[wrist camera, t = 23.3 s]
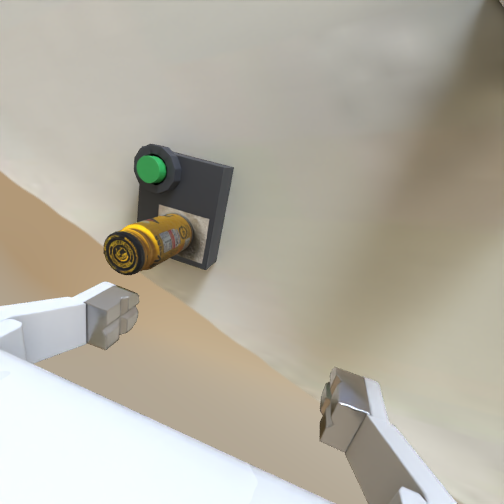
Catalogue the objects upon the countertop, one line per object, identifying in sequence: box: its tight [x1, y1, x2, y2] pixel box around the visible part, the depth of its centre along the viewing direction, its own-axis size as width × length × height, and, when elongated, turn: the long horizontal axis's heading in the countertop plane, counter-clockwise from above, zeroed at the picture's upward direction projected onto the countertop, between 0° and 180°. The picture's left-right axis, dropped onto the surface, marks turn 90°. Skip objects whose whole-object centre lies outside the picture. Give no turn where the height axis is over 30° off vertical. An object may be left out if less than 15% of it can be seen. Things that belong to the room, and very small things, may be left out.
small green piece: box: [137, 156, 167, 183], centre depth 36 cm, size 4×4×2 cm
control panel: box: [134, 144, 234, 270], centre depth 40 cm, size 17×13×6 cm
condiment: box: [104, 205, 209, 275], centre depth 35 cm, size 7×8×12 cm
